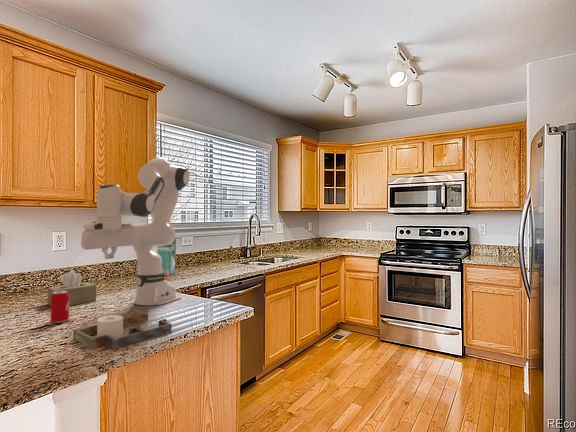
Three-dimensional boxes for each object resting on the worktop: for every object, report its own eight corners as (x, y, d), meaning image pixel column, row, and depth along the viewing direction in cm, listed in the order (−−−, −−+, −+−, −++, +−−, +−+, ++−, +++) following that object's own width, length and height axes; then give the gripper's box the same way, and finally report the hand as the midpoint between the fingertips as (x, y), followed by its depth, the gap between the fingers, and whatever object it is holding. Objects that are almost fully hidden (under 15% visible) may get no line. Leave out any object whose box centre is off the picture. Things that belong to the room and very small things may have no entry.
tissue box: (88, 297, 182) (89, 267, 182) (96, 300, 176) (97, 269, 176) (46, 304, 168) (46, 271, 167) (53, 308, 161) (54, 274, 161)
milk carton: (163, 272, 257) (164, 238, 256) (175, 273, 255) (175, 238, 255) (157, 274, 248) (157, 239, 247) (169, 275, 246) (170, 239, 246)
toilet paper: (113, 330, 133) (113, 312, 133) (126, 337, 126) (127, 318, 126) (90, 335, 127) (90, 316, 127) (102, 343, 120) (103, 323, 120)
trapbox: (146, 319, 146) (146, 312, 146) (176, 330, 134) (176, 322, 134) (73, 338, 124) (73, 330, 124) (101, 353, 112) (101, 343, 112)
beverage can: (72, 319, 146) (72, 290, 146) (63, 323, 140) (63, 293, 140) (56, 318, 146) (57, 290, 146) (47, 323, 140) (47, 293, 139)
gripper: (129, 223, 152) (129, 254, 152) (79, 225, 135) (79, 260, 135) (137, 223, 148) (137, 256, 148) (87, 225, 131) (87, 262, 132)
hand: (109, 258), depth 142 cm, fingers closed
